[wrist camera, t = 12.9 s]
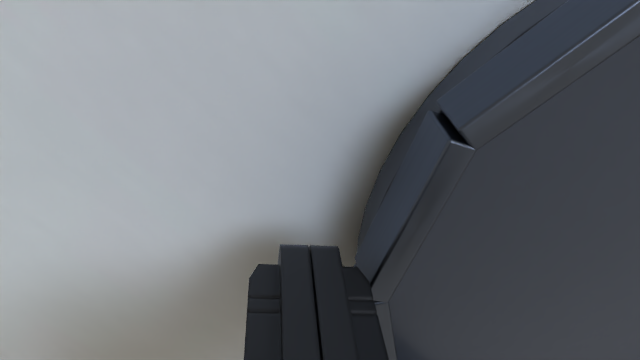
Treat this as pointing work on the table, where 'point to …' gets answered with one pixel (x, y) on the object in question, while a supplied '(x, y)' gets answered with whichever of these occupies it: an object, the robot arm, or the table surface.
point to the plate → (517, 198)
